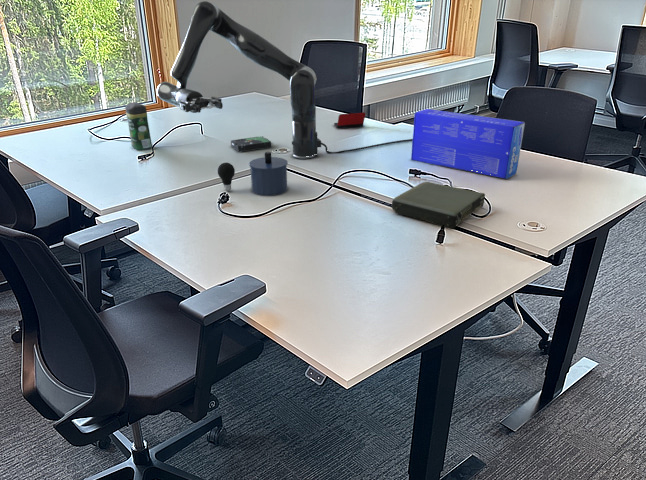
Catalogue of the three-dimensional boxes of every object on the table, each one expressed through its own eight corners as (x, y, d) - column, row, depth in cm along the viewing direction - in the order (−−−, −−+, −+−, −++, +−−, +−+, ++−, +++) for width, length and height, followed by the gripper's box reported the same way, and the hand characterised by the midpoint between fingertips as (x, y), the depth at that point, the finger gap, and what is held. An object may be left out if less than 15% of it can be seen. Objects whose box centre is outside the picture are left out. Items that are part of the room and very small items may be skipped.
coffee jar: (129, 146, 254) (122, 102, 244) (146, 143, 257) (140, 100, 248) (136, 151, 246) (129, 106, 237) (154, 148, 250) (147, 103, 240)
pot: (282, 182, 207) (281, 157, 203) (290, 193, 197) (290, 167, 193) (249, 185, 205) (247, 160, 200) (256, 197, 195) (254, 171, 190)
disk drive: (238, 153, 241) (271, 147, 245) (238, 146, 239) (271, 140, 244) (230, 146, 249) (262, 141, 254) (230, 140, 247) (262, 135, 252)
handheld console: (359, 123, 277) (359, 107, 273) (365, 128, 268) (366, 112, 264) (333, 125, 275) (333, 109, 271) (338, 130, 266) (339, 114, 262)
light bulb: (239, 189, 202) (236, 160, 197) (232, 194, 198) (229, 166, 193) (223, 187, 204) (221, 159, 199) (216, 193, 199) (213, 164, 194)
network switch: (462, 232, 166) (465, 215, 163) (386, 217, 177) (387, 201, 174) (486, 205, 183) (488, 190, 180) (415, 193, 194) (416, 178, 191)
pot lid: (282, 158, 203) (282, 145, 201) (291, 169, 193) (291, 155, 190) (246, 162, 201) (245, 149, 199) (253, 173, 190) (252, 159, 188)
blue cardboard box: (517, 174, 207) (526, 121, 197) (506, 180, 202) (515, 126, 192) (421, 155, 230) (426, 107, 221) (410, 160, 225) (414, 111, 215)
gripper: (170, 92, 208) (190, 99, 196) (205, 87, 215) (227, 93, 203) (173, 113, 212) (193, 122, 200) (207, 107, 219) (229, 115, 207)
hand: (210, 107), depth 202 cm, fingers open, 8 cm apart
